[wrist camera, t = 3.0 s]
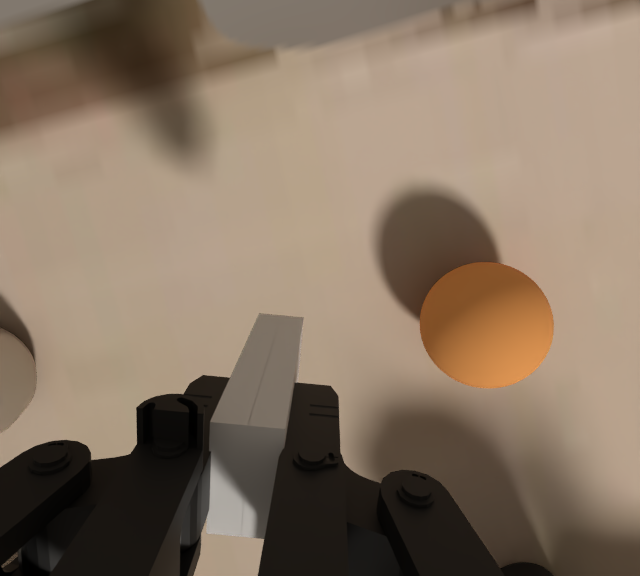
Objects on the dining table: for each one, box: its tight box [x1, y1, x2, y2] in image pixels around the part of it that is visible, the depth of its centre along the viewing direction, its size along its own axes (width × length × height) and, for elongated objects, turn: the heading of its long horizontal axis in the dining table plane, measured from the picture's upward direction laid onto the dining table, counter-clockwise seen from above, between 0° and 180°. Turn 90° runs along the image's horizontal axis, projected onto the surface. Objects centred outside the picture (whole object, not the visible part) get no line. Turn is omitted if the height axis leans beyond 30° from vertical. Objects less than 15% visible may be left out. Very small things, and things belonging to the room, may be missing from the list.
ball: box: [420, 262, 554, 388], centre depth 22 cm, size 6×6×6 cm
